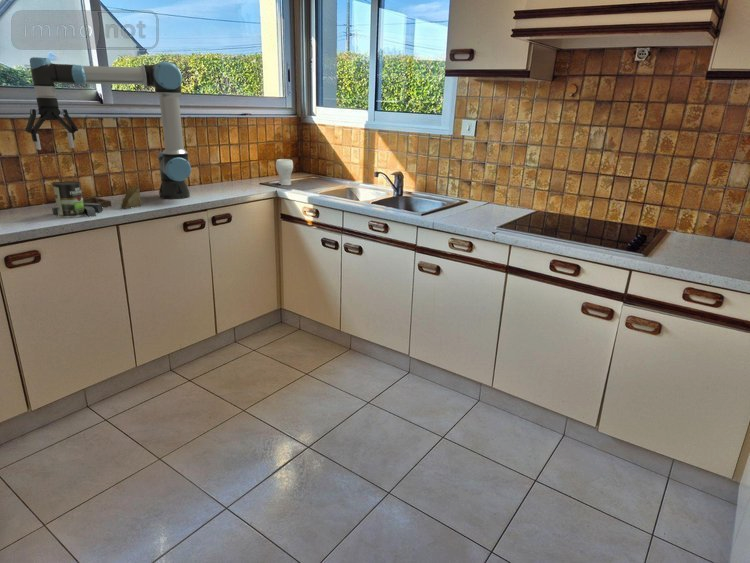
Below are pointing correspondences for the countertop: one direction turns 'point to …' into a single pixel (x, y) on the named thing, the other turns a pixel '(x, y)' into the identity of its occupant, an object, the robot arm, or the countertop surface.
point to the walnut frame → (97, 201)
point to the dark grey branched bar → (86, 209)
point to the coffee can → (69, 199)
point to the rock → (131, 198)
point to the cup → (284, 170)
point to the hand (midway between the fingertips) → (55, 148)
